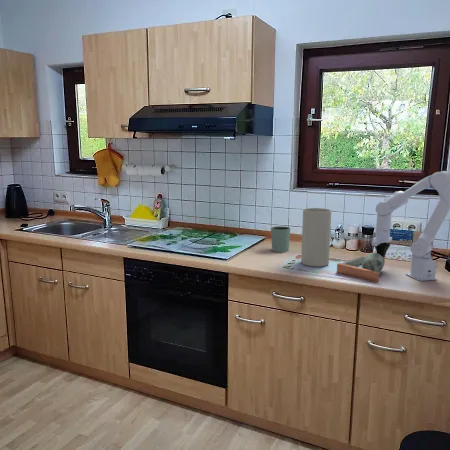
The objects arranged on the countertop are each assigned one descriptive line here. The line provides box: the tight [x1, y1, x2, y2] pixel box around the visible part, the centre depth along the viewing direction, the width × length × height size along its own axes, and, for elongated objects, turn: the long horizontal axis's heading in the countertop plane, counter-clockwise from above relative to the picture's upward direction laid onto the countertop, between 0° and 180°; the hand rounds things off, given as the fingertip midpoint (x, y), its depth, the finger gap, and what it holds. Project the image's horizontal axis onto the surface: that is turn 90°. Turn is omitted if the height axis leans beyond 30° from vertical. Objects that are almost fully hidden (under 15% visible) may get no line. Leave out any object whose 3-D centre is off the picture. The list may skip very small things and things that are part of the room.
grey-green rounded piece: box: [361, 252, 386, 274], centre depth 179 cm, size 14×10×10 cm
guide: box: [336, 256, 380, 284], centre depth 180 cm, size 23×19×4 cm
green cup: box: [270, 225, 291, 253], centre depth 217 cm, size 10×10×12 cm
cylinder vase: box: [300, 207, 332, 268], centre depth 191 cm, size 12×12×25 cm
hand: (380, 259), depth 184 cm, fingers closed
